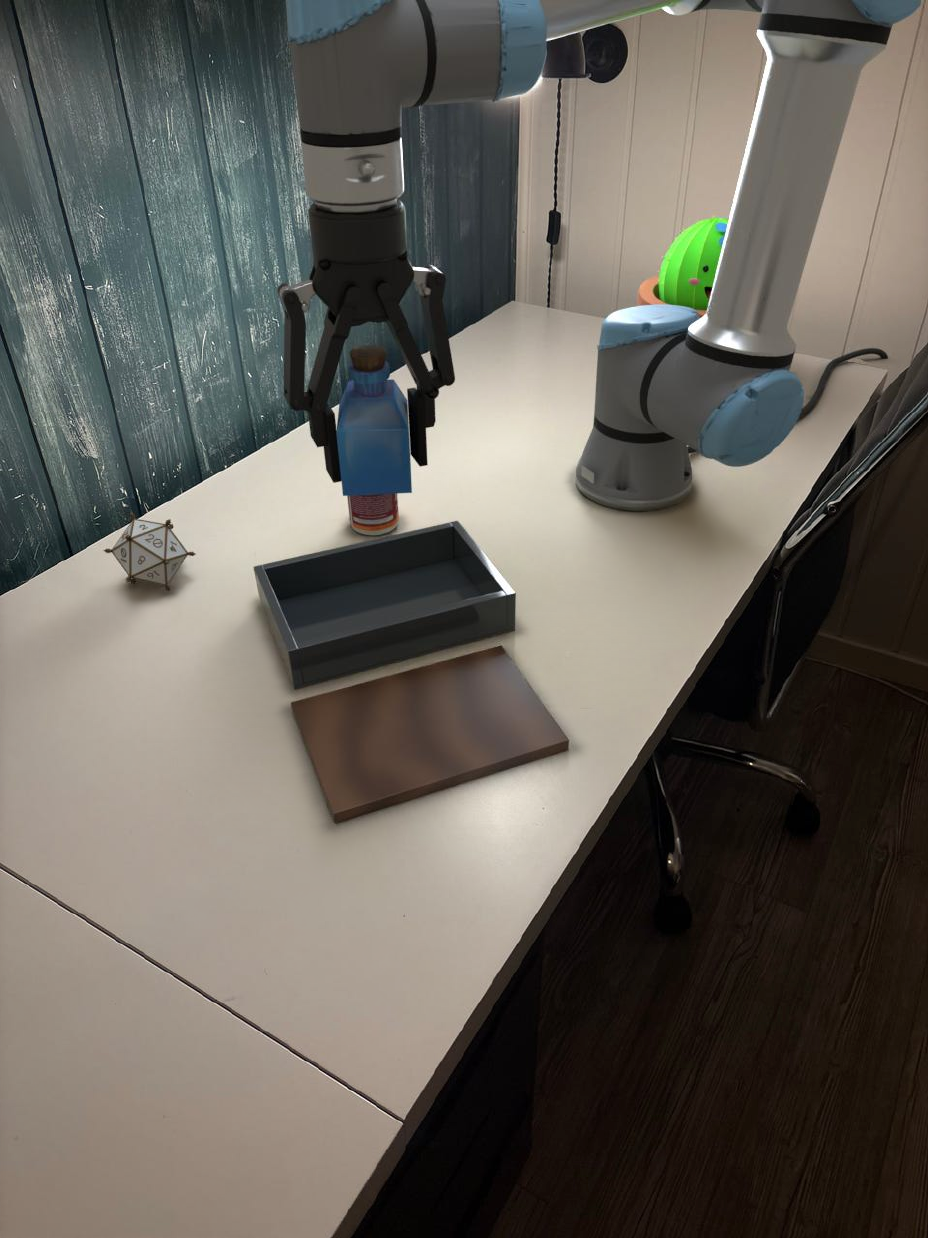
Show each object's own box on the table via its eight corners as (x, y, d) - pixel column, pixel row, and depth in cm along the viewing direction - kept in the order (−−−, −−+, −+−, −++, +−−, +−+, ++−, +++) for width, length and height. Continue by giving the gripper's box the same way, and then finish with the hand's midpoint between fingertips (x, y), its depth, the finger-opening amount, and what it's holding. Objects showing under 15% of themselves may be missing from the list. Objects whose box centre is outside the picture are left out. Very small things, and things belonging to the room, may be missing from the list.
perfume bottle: (345, 464, 87) (333, 340, 80) (410, 461, 88) (403, 337, 80) (343, 495, 82) (329, 366, 75) (411, 492, 83) (405, 364, 75)
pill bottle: (408, 527, 115) (403, 447, 108) (365, 542, 112) (357, 461, 106) (384, 506, 119) (377, 428, 112) (341, 521, 116) (332, 441, 110)
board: (501, 653, 94) (501, 644, 94) (568, 749, 83) (569, 740, 83) (291, 711, 88) (290, 702, 87) (334, 823, 77) (333, 814, 76)
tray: (458, 555, 109) (458, 520, 107) (515, 630, 98) (516, 592, 95) (260, 602, 102) (253, 566, 99) (294, 689, 90) (287, 651, 88)
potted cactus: (630, 348, 162) (644, 196, 147) (758, 352, 160) (785, 198, 145) (631, 399, 145) (647, 232, 130) (774, 404, 142) (807, 235, 127)
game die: (181, 601, 109) (221, 538, 105) (135, 619, 101) (176, 551, 98) (126, 552, 110) (164, 488, 106) (77, 566, 102) (115, 497, 98)
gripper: (232, 225, 65) (275, 507, 79) (496, 198, 71) (494, 465, 84) (215, 202, 71) (259, 469, 84) (462, 179, 76) (465, 432, 90)
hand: (376, 467), depth 84 cm, fingers closed on perfume bottle, 7 cm apart
